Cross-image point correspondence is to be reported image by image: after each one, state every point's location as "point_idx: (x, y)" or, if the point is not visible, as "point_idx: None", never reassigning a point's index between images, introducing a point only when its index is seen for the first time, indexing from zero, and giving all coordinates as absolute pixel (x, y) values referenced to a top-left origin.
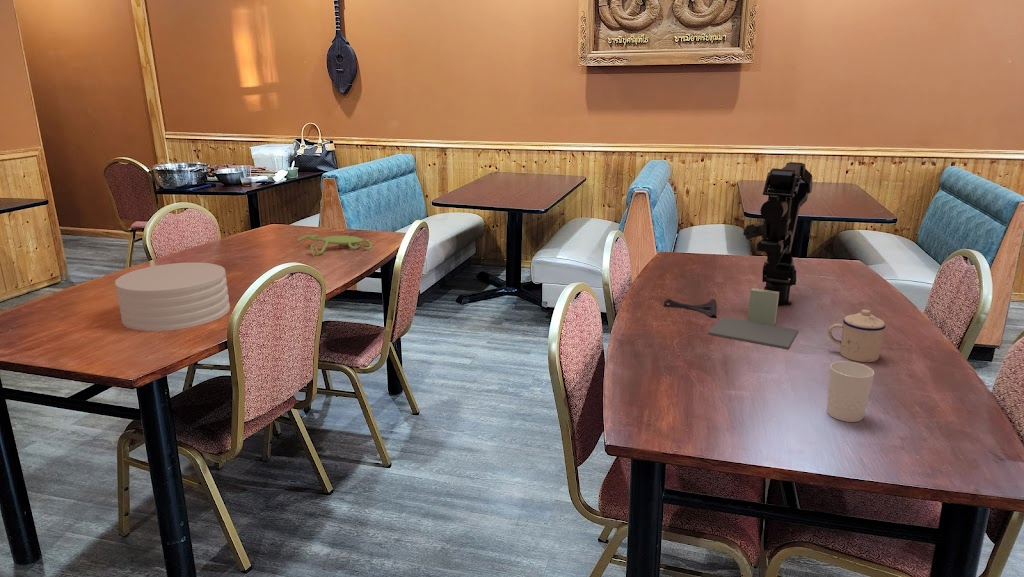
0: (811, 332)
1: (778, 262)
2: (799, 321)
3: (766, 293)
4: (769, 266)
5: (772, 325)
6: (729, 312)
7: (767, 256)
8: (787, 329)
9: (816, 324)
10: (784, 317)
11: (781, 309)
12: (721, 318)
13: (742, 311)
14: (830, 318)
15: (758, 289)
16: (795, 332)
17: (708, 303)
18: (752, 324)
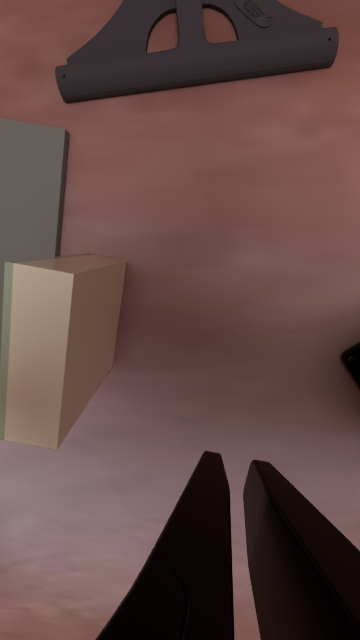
0: (60, 479)
1: (261, 632)
2: (167, 447)
3: (3, 370)
4: (186, 486)
5: None
6: (180, 161)
7: (105, 630)
8: None
9: (156, 498)
10: (196, 398)
11: (302, 388)
12: (36, 128)
13: (218, 223)
14: (243, 544)
15: (48, 317)
16: None
17: (285, 23)
18: None
